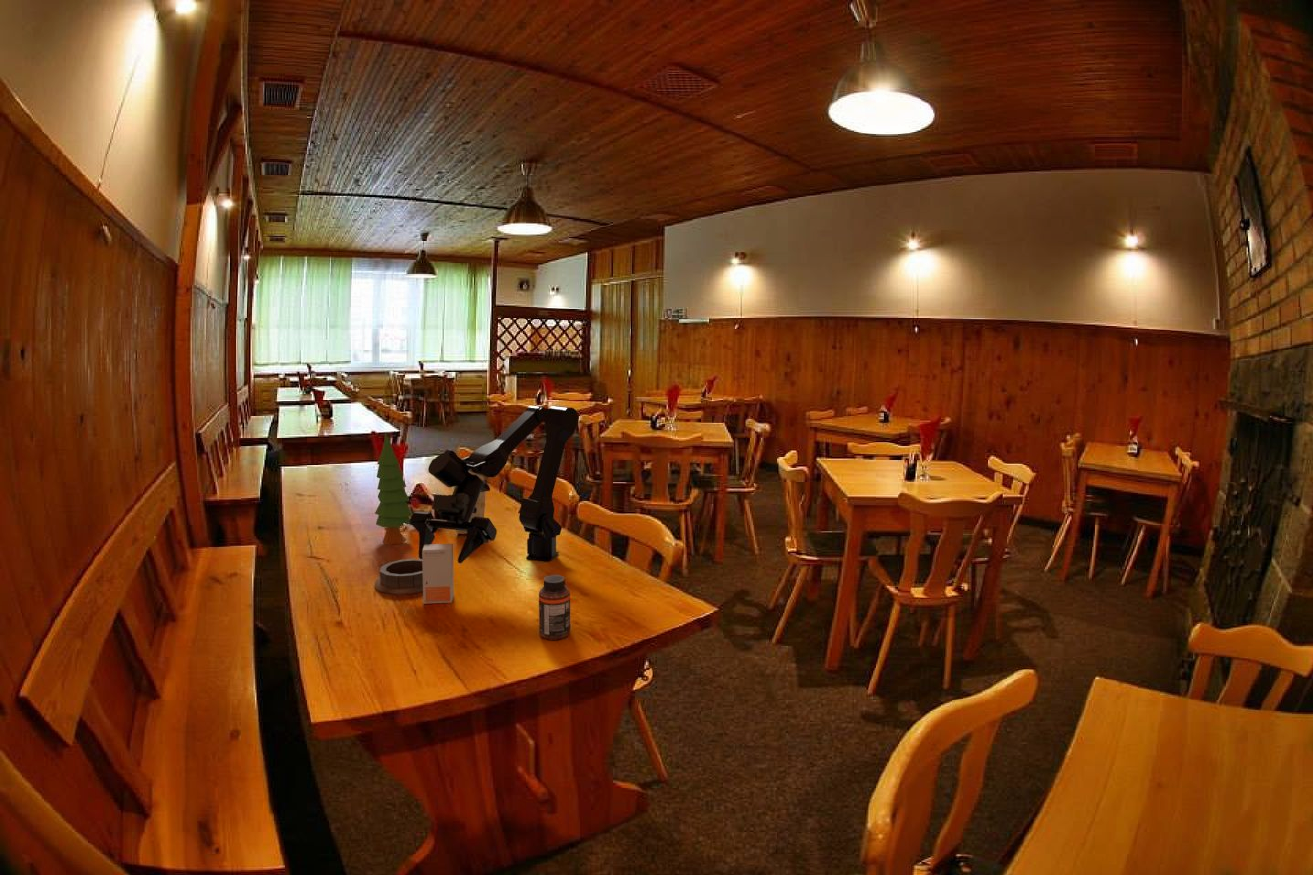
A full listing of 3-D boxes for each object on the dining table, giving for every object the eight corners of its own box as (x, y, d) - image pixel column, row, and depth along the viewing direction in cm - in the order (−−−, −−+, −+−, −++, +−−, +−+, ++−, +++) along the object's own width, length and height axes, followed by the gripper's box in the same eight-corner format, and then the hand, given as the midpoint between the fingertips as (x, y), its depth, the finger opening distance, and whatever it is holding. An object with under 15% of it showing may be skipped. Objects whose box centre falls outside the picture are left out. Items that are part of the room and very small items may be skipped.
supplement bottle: (540, 628, 137) (540, 572, 135) (570, 627, 137) (570, 572, 135) (537, 641, 131) (537, 583, 129) (569, 641, 131) (569, 583, 129)
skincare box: (422, 604, 147) (421, 550, 145) (425, 597, 151) (423, 543, 149) (452, 603, 148) (451, 548, 146) (454, 595, 152) (453, 542, 150)
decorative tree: (371, 540, 189) (365, 431, 184) (403, 533, 196) (399, 428, 192) (389, 548, 183) (384, 435, 178) (421, 540, 190) (417, 432, 185)
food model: (462, 538, 193) (461, 467, 190) (448, 533, 197) (446, 464, 194) (491, 530, 200) (490, 462, 197) (476, 526, 204) (475, 459, 201)
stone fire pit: (451, 575, 164) (451, 560, 163) (418, 597, 150) (417, 580, 150) (398, 569, 167) (398, 554, 166) (361, 590, 154) (360, 574, 153)
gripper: (412, 475, 154) (383, 538, 145) (490, 481, 149) (465, 546, 140) (433, 502, 162) (406, 562, 153) (506, 508, 158) (484, 571, 149)
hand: (439, 560), depth 149 cm, fingers open, 9 cm apart
